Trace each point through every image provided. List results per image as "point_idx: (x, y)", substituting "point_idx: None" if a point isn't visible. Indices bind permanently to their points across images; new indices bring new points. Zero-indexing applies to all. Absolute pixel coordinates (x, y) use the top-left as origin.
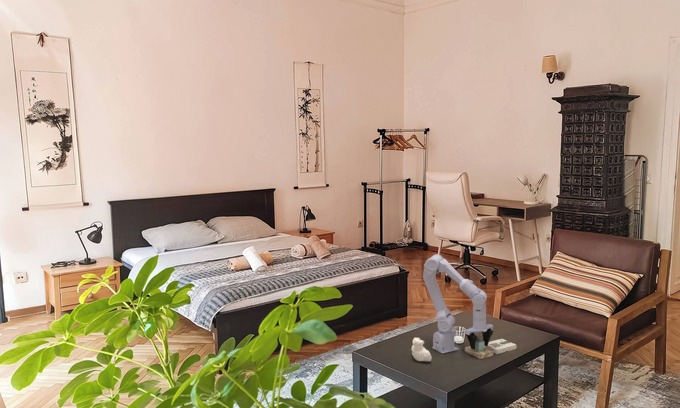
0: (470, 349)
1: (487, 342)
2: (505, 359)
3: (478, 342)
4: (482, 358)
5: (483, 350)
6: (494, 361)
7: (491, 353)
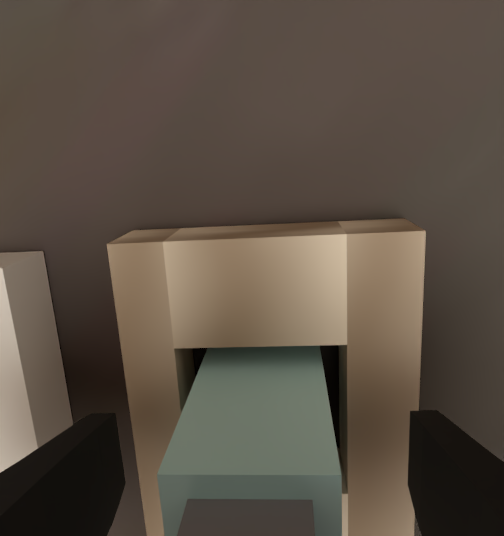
0: (395, 484)
1: (73, 448)
2: (41, 14)
3: (339, 493)
4: (354, 220)
5: (220, 364)
6: (259, 32)
7: (153, 236)
